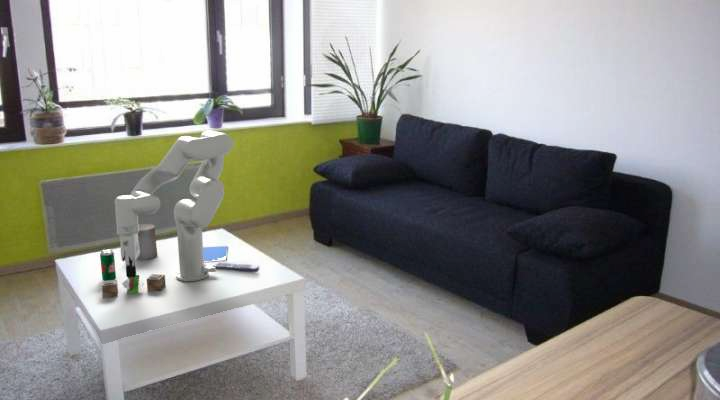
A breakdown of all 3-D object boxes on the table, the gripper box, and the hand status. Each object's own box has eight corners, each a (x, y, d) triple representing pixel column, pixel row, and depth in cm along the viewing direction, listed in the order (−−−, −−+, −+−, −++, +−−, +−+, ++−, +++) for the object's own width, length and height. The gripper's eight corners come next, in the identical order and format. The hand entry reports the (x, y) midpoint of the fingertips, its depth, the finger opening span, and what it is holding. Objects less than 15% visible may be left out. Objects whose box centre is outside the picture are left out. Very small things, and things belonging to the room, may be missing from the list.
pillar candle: (148, 251, 287) (145, 219, 283) (162, 255, 281) (159, 223, 278) (129, 257, 279) (125, 224, 276) (143, 262, 274) (139, 228, 270)
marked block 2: (165, 287, 246) (164, 274, 245) (160, 291, 242) (159, 278, 240) (153, 286, 247) (152, 273, 246) (147, 291, 242) (146, 278, 241)
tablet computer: (227, 262, 275) (226, 259, 275) (196, 264, 273) (196, 261, 273) (228, 248, 294) (228, 245, 293) (200, 249, 292) (199, 247, 291)
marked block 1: (117, 292, 241) (116, 278, 240) (117, 296, 237) (116, 283, 236) (103, 293, 240) (102, 280, 239) (102, 298, 235) (101, 285, 234)
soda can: (111, 282, 250) (108, 253, 247) (99, 281, 251) (97, 252, 248) (118, 278, 255) (116, 249, 252) (107, 277, 256) (104, 248, 253)
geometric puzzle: (129, 281, 246) (123, 270, 240) (147, 281, 246) (141, 270, 240) (124, 297, 242) (118, 286, 235) (142, 297, 241) (136, 286, 235)
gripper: (134, 234, 229) (137, 283, 233) (142, 223, 243) (145, 269, 247) (112, 235, 227) (116, 283, 232) (121, 223, 242) (125, 269, 246)
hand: (131, 276), depth 239 cm, fingers closed
